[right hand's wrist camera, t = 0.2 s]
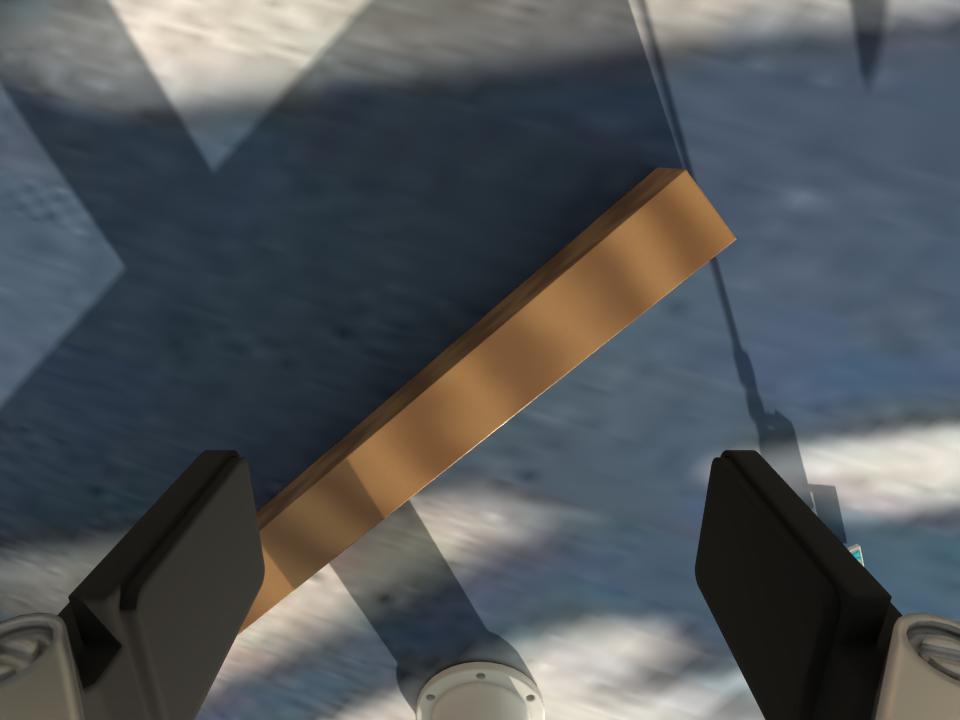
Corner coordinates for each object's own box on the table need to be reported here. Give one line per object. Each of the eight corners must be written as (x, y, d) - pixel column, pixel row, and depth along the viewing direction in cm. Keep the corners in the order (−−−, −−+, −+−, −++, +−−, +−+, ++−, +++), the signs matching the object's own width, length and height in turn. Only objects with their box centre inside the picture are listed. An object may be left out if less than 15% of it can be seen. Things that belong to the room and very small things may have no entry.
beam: (82, 731, 57) (41, 790, 52) (35, 702, 56) (-12, 760, 50) (702, 227, 40) (736, 239, 35) (657, 166, 38) (685, 168, 33)
